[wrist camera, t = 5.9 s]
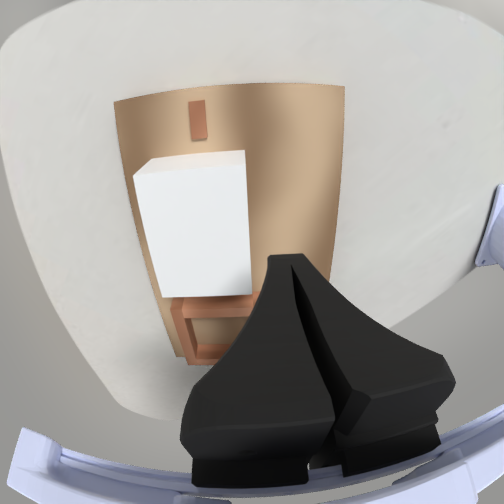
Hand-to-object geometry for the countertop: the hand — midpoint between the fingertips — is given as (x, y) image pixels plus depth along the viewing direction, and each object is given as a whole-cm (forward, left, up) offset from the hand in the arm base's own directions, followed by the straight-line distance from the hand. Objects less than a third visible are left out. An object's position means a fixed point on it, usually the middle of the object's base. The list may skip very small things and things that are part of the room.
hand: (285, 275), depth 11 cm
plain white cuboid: (+4, 0, -6) cm, 7 cm away
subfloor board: (+2, +3, -7) cm, 8 cm away
